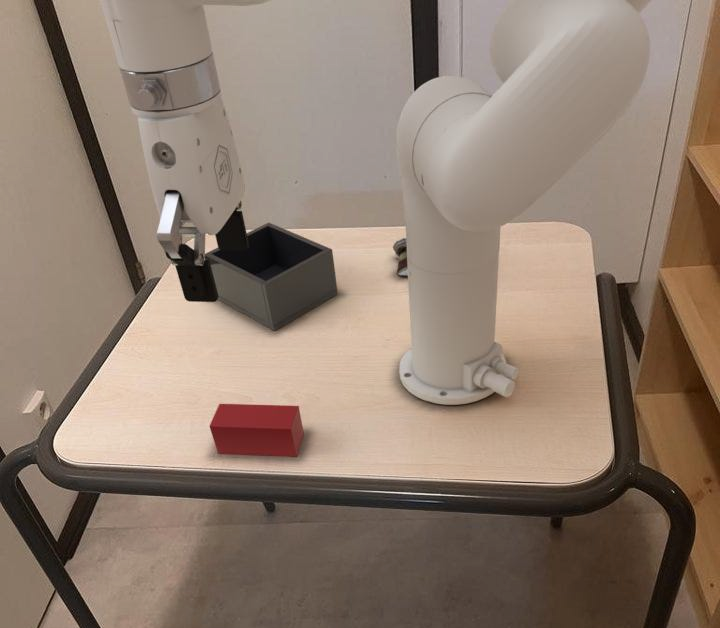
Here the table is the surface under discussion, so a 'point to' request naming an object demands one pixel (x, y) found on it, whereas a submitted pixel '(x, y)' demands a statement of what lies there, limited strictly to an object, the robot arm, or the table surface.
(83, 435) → the table surface
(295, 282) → the grey storage bin
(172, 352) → the table surface
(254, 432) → the red rectangular brick
